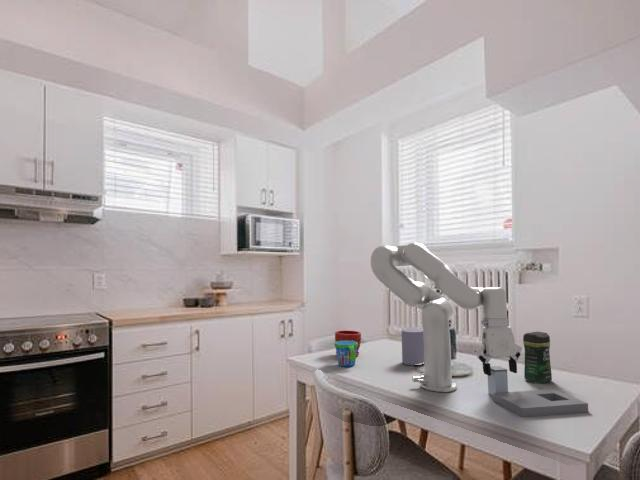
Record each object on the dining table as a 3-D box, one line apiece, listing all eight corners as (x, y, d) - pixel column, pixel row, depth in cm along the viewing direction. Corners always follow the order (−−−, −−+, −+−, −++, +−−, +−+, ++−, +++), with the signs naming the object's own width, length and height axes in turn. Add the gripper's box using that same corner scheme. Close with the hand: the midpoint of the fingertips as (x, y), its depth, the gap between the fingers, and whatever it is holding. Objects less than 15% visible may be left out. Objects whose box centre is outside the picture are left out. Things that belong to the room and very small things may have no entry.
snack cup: (331, 361, 181) (330, 340, 181) (352, 360, 183) (352, 338, 184) (339, 370, 165) (339, 346, 166) (363, 368, 168) (362, 345, 168)
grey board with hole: (522, 417, 112) (521, 408, 112) (493, 400, 126) (493, 393, 126) (588, 411, 115) (587, 403, 116) (553, 396, 129) (552, 389, 129)
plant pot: (353, 360, 184) (353, 334, 185) (330, 356, 191) (330, 332, 192) (365, 354, 195) (365, 330, 195) (343, 352, 202) (343, 328, 203)
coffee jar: (541, 385, 141) (539, 334, 143) (521, 380, 148) (518, 331, 149) (556, 381, 146) (553, 332, 148) (535, 376, 153) (533, 329, 154)
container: (429, 365, 172) (428, 331, 173) (407, 366, 170) (406, 332, 171) (419, 360, 182) (418, 328, 183) (399, 361, 180) (398, 329, 181)
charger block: (496, 397, 129) (494, 370, 129) (488, 393, 133) (486, 366, 134) (508, 396, 130) (507, 369, 130) (500, 392, 134) (499, 366, 135)
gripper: (479, 326, 128) (483, 378, 126) (525, 322, 131) (530, 374, 129) (467, 323, 135) (471, 373, 134) (511, 320, 138) (516, 368, 137)
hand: (500, 373), depth 132 cm, fingers open, 9 cm apart
